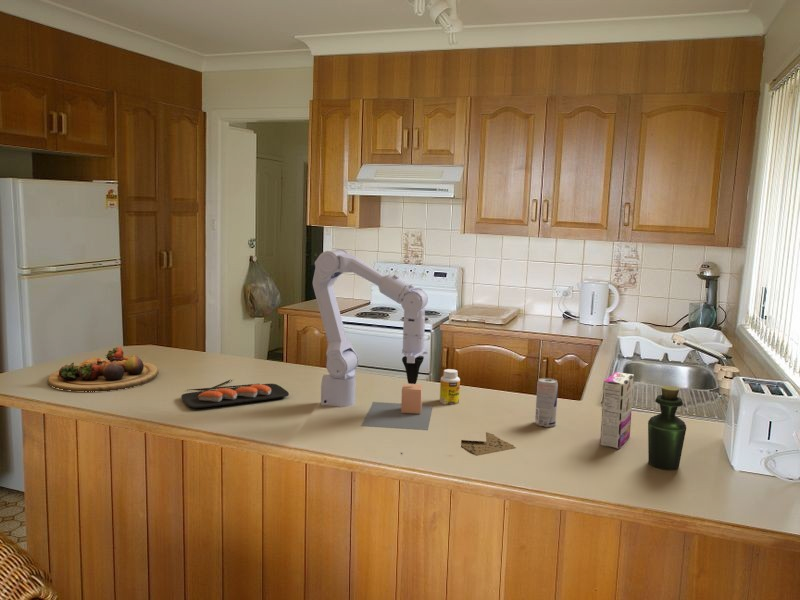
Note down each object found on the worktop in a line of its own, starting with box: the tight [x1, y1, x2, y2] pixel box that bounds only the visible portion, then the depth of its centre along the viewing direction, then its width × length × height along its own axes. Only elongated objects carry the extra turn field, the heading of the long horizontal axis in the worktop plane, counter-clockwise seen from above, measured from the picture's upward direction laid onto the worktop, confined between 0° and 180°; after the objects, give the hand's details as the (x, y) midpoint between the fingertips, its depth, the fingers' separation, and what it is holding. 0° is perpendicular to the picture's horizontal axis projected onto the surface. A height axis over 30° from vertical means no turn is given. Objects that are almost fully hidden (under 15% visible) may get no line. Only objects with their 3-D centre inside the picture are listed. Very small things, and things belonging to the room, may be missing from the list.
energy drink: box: [534, 377, 559, 428], centre depth 176 cm, size 5×5×12 cm
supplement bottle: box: [439, 368, 461, 406], centre depth 191 cm, size 6×6×10 cm
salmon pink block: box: [400, 383, 424, 414], centre depth 181 cm, size 5×5×7 cm
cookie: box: [460, 431, 517, 457], centre depth 161 cm, size 12×12×1 cm
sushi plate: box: [180, 379, 289, 409], centre depth 199 cm, size 29×30×4 cm
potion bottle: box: [647, 385, 687, 471], centre depth 150 cm, size 8×8×18 cm
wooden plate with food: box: [47, 346, 159, 393], centre depth 210 cm, size 32×32×8 cm
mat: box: [360, 401, 434, 431], centre depth 178 cm, size 17×21×1 cm
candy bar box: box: [599, 371, 635, 450], centre depth 165 cm, size 11×5×16 cm, turn 148°
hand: (412, 383), depth 181 cm, fingers closed
